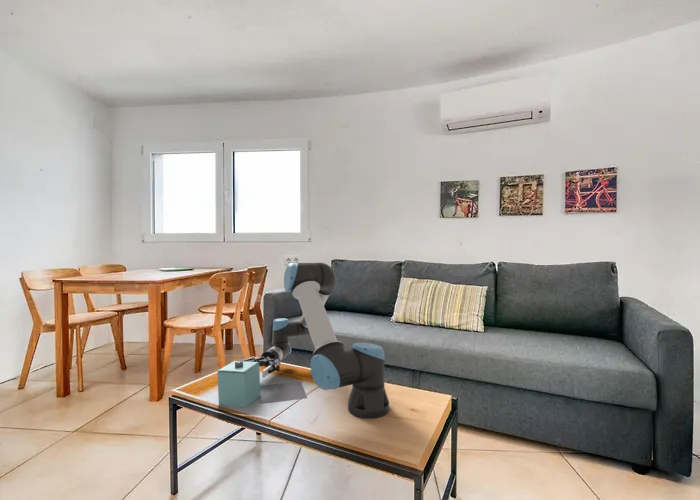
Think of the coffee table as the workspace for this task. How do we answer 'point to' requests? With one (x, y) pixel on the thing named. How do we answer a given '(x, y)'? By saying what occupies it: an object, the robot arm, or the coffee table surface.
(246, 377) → the teal box with knob
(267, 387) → the mat
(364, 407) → the robot arm
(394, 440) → the coffee table surface
